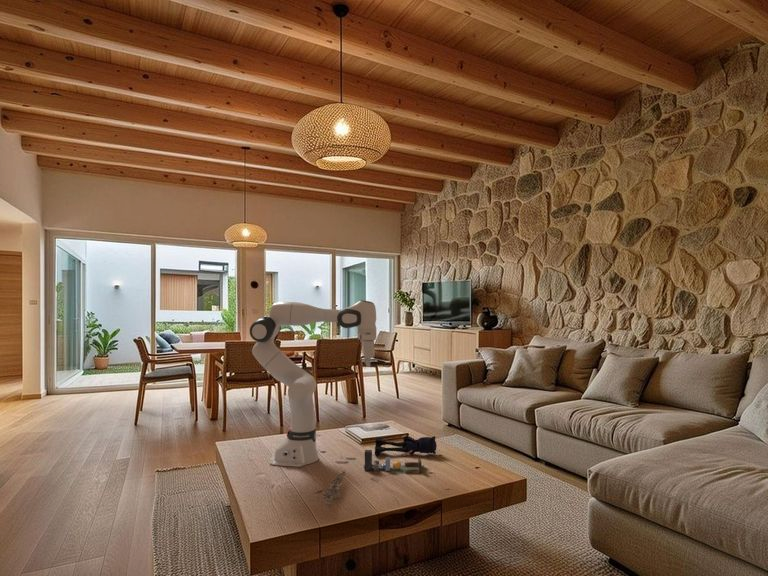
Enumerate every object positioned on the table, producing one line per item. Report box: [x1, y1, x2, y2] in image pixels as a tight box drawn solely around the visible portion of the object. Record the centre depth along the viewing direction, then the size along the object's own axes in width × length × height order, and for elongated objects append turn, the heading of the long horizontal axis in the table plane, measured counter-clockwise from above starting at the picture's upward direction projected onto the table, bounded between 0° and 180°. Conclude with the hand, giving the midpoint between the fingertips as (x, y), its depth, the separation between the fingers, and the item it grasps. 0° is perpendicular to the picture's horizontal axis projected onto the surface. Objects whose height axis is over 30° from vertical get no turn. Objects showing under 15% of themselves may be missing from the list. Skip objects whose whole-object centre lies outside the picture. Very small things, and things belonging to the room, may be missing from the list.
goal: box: [404, 453, 422, 473], centre depth 199 cm, size 7×9×5 cm
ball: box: [392, 460, 402, 470], centre depth 199 cm, size 4×4×4 cm
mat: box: [391, 464, 426, 475], centre depth 199 cm, size 14×10×1 cm
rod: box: [363, 449, 391, 472], centre depth 199 cm, size 12×5×8 cm, turn 88°
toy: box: [374, 434, 437, 457], centre depth 218 cm, size 10×9×30 cm
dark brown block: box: [373, 460, 380, 473], centre depth 199 cm, size 2×6×3 cm, turn 178°
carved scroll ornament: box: [324, 470, 346, 506], centre depth 173 cm, size 5×30×4 cm, turn 174°
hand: (367, 364), depth 212 cm, fingers open, 8 cm apart
